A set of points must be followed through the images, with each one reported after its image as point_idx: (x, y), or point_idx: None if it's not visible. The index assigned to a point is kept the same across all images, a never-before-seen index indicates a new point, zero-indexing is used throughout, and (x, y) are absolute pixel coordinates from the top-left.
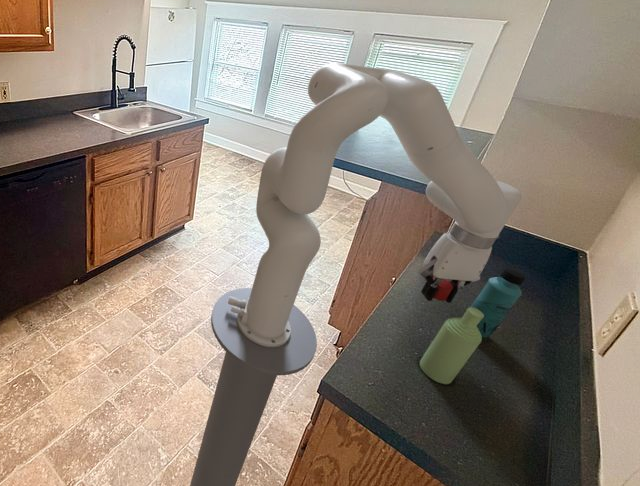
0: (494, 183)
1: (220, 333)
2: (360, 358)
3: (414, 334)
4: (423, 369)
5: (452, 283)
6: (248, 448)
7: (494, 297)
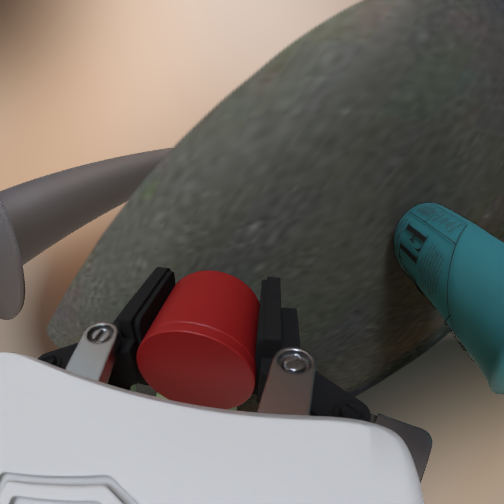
0: None
1: None
2: (76, 307)
3: (221, 246)
4: None
5: (260, 387)
6: (123, 201)
7: (472, 351)
